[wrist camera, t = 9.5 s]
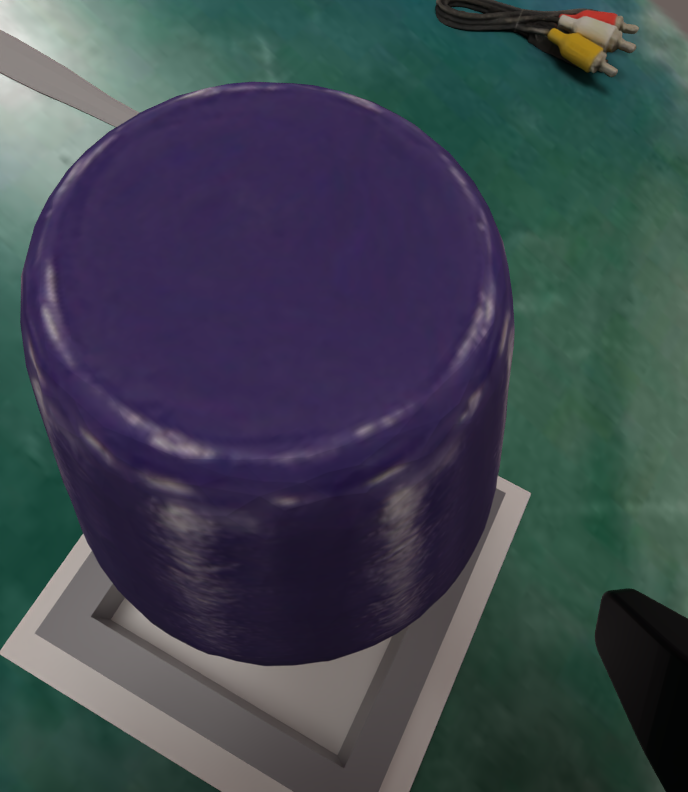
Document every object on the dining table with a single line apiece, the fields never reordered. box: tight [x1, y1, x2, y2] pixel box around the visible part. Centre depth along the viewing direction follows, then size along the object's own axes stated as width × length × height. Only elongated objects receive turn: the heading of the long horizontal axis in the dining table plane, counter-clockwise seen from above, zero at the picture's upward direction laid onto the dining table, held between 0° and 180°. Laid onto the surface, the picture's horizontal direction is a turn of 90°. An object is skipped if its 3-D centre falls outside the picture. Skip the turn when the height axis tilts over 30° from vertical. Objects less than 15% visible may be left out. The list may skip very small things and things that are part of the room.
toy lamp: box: [20, 82, 514, 666], centre depth 11 cm, size 5×5×17 cm
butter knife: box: [0, 30, 139, 127], centre depth 26 cm, size 1×27×3 cm
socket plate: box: [0, 476, 531, 792], centre depth 18 cm, size 12×12×3 cm
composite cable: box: [436, 0, 639, 77], centre depth 30 cm, size 10×5×2 cm, turn 62°
